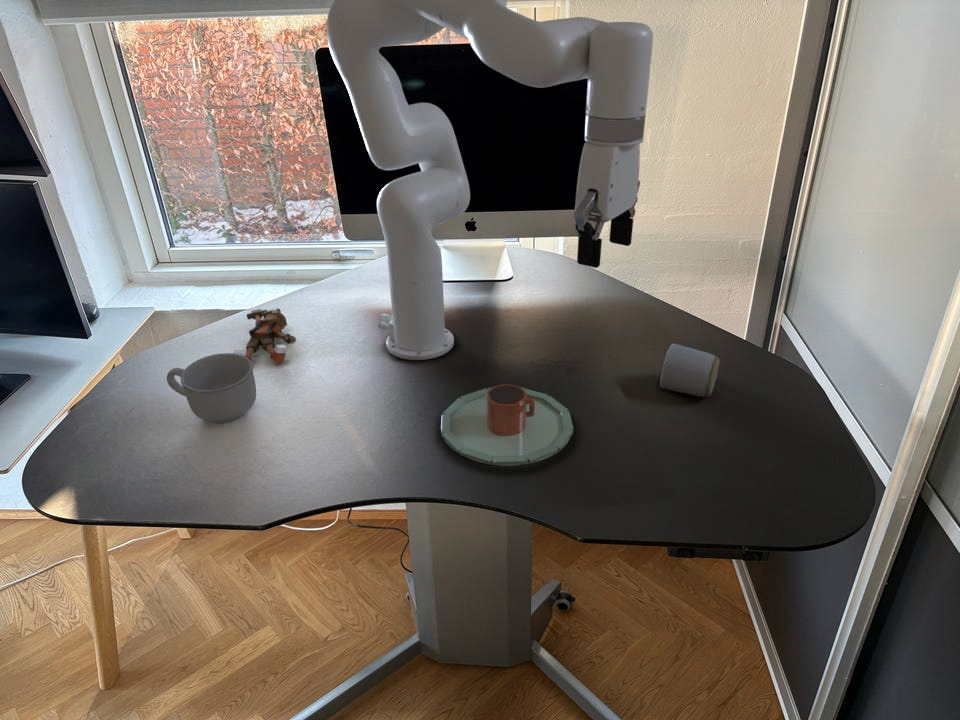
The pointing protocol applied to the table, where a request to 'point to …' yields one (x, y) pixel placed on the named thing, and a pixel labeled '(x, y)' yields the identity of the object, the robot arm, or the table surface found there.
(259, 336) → the character figurine
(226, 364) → the teacup
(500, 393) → the espresso cup
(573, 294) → the table surface
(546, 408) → the plate
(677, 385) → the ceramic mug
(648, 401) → the table surface
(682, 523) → the table surface
